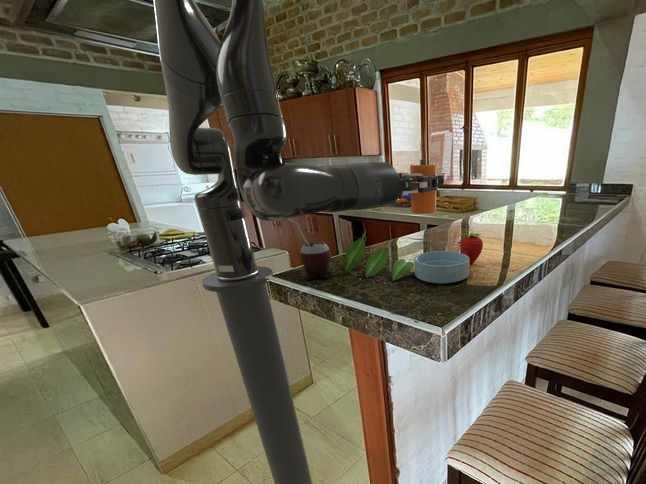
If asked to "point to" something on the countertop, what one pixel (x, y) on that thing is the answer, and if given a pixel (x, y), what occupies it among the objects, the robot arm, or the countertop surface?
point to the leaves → (375, 260)
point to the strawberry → (471, 246)
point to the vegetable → (425, 200)
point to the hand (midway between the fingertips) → (431, 180)
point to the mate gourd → (314, 257)
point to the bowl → (441, 266)
